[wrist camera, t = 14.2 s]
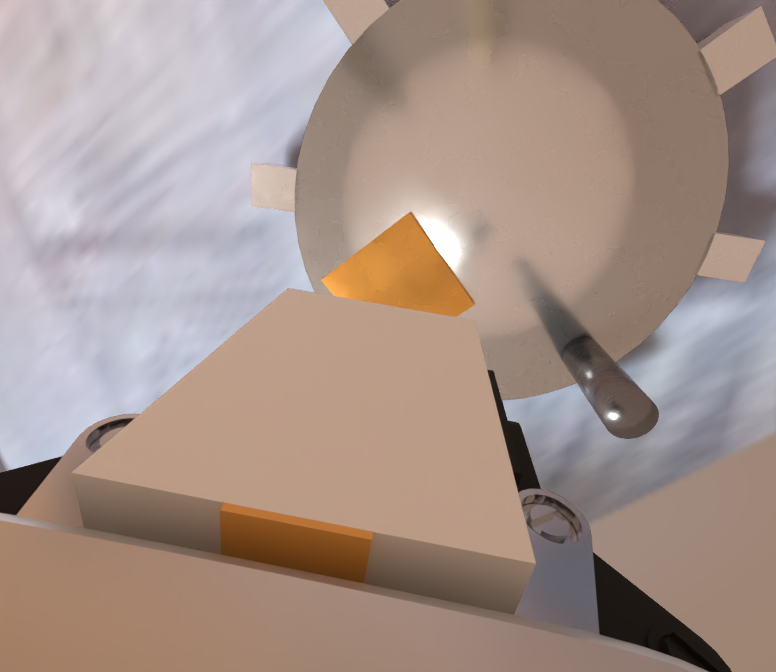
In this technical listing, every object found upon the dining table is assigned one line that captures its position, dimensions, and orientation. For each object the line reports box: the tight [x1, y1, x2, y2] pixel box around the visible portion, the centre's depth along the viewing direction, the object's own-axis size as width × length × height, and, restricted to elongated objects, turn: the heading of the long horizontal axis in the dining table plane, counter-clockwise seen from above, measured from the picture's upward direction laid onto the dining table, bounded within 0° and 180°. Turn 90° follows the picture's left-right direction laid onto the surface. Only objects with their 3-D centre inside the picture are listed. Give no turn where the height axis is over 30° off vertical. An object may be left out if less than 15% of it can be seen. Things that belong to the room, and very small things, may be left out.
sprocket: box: [251, 0, 776, 439], centre depth 18 cm, size 24×24×8 cm
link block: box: [71, 288, 536, 615], centre depth 8 cm, size 5×5×7 cm
